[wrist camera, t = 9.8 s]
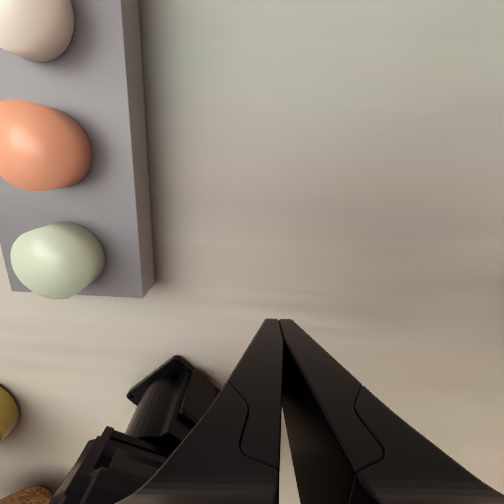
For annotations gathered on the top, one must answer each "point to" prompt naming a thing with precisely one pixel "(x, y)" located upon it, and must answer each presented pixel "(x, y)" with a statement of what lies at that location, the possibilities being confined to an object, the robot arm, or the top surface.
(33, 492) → the brown rounded lump
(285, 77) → the top surface
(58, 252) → the sage button
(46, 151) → the terracotta button
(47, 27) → the cream button
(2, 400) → the gold metal figurine
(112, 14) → the button panel
